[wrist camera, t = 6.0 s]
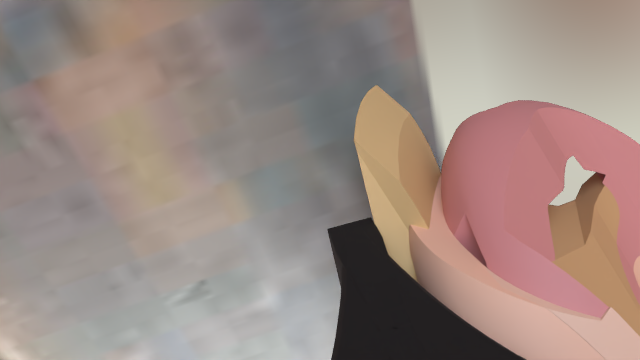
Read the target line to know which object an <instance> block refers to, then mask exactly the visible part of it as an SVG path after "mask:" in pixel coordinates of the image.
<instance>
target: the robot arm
mask: <svg viewBox="0 0 640 360" xmlns="http://www.w3.org/2000/svg"><path fill="white" fill-rule="evenodd" d="M327 230H328V234H329V238H330V242H331V247H332V251H333V255H334V259H335V264H336V268H337V272H338V276H339V281H340V285H341V301H340V309H339V317H338V324H337V331H336V338H335V343H334V348H333V353H332V358H331V360H526V359H525V358H523V357H521V356H519V355H517V354H515V353H514V352H512V351H510V350H509V349H507V348H506V347H504V346H502V345H501V344H499V343H498V342H496V341H494V340H493V339H491V338H490V337H488V336H487V335H485V334H484V333H482V332H481V331H479V330H478V329H476V328H475V327H473V326H472V325H471V324H469V323H468V322H466V321H465V320H464V319H462V318H461V317H459V316H458V315H457V314H455V313H454V312H453V311H451V310H450V309H449V308H448V307H446V306H445V305H444V304H443V303H441V302H440V301H439V300H438V299H436V298H435V297H434V296H433V295H431V294H430V293H429V292H428V291H427V290H426V289H424V288H423V287H422V286H421V285H420V284H419V283H418V282H417V281H415V280H414V279H413V278H412V277H411V276H410V275H409V274H408V273H407V272H406V271H405V270H404V269H402V268H401V267H400V266H399V265H398V264H397V263H396V262H395V261H394V260H393V259H392V258H391V257H390V256H389V255H388V252H387V249H386V246H385V243H384V240H383V237H382V235H381V233H380V232H379V230H378V228H377V226H376V225H375V223H374V222H373V220H372V219H371V218H367V219H363V220H359V221H356V222H352V223H348V224H344V225H341V226H337V227H333V228H329V229H327Z"/></svg>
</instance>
